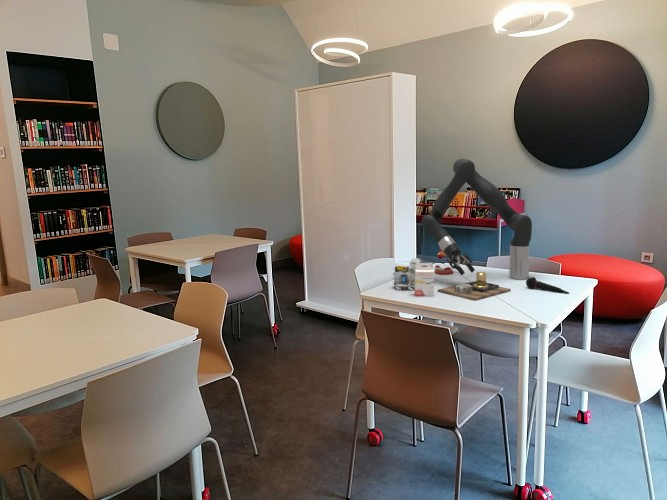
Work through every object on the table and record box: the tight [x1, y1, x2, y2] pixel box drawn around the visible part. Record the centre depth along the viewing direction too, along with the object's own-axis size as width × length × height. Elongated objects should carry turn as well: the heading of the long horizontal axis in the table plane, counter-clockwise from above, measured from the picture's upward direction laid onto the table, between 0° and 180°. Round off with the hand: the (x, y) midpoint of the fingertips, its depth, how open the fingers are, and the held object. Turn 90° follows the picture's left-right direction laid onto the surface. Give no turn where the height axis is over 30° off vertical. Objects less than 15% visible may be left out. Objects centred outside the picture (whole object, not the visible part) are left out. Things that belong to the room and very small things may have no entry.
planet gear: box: [473, 271, 490, 289], centre depth 235 cm, size 8×8×8 cm
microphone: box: [525, 277, 570, 295], centre depth 232 cm, size 6×6×20 cm
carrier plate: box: [437, 280, 512, 302], centre depth 234 cm, size 26×22×4 cm
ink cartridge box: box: [414, 262, 435, 297], centre depth 230 cm, size 9×5×15 cm, turn 84°
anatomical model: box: [434, 249, 454, 276], centre depth 275 cm, size 10×8×15 cm
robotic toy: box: [391, 257, 427, 292], centre depth 243 cm, size 13×17×15 cm
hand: (468, 272), depth 240 cm, fingers open, 8 cm apart
